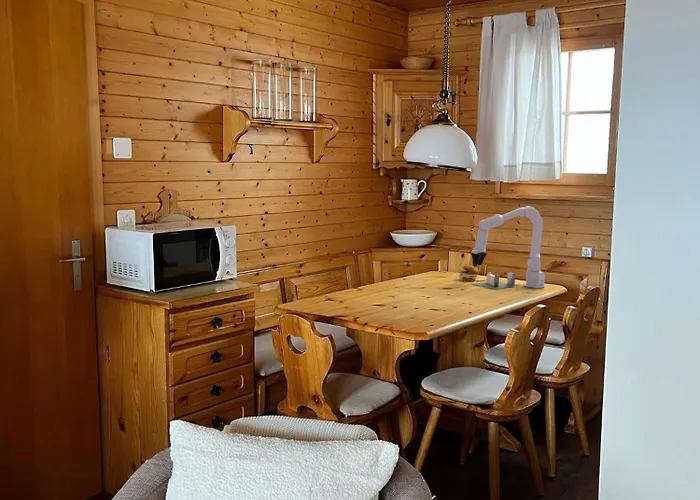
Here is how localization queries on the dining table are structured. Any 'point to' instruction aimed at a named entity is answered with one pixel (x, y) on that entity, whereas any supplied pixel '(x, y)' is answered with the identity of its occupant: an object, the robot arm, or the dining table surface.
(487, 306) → the dining table surface
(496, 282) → the hinge post
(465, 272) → the cheeseburger
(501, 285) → the mat
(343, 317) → the dining table surface
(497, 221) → the robot arm
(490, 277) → the gate
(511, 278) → the stile
